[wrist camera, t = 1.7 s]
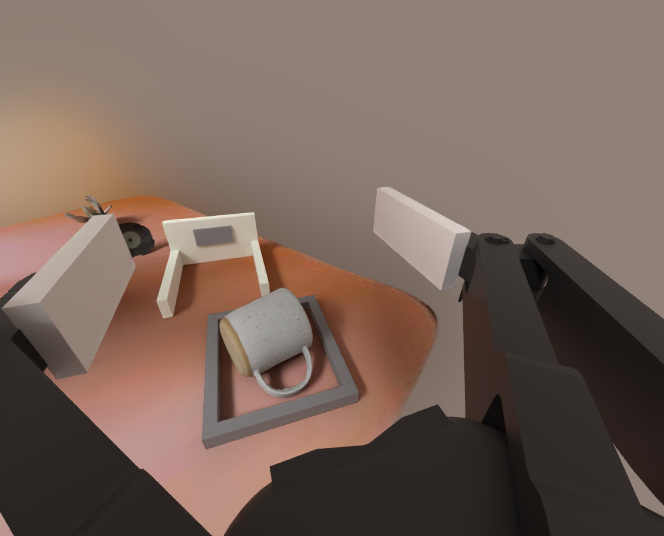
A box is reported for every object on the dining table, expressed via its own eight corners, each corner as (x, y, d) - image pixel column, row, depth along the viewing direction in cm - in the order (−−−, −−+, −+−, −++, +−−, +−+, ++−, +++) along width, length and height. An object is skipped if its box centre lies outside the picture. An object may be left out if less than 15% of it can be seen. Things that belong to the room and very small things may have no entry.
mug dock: (163, 318, 38) (143, 268, 34) (176, 262, 50) (163, 220, 46) (270, 299, 42) (265, 252, 38) (258, 251, 54) (253, 212, 50)
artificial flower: (114, 274, 50) (67, 226, 43) (93, 244, 64) (56, 205, 58) (162, 245, 54) (125, 198, 48) (132, 223, 68) (101, 185, 62)
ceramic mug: (222, 351, 34) (209, 301, 29) (282, 322, 38) (278, 275, 34) (264, 421, 27) (255, 370, 23) (331, 376, 31) (333, 326, 27)
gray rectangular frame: (205, 449, 25) (201, 440, 24) (210, 323, 38) (207, 314, 37) (357, 401, 29) (359, 392, 28) (314, 302, 42) (314, 294, 41)
